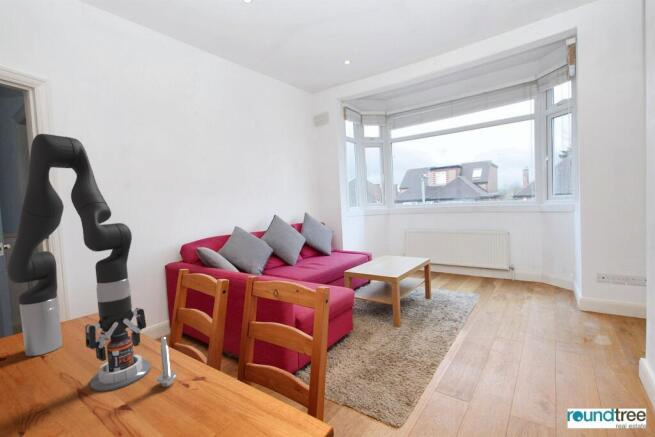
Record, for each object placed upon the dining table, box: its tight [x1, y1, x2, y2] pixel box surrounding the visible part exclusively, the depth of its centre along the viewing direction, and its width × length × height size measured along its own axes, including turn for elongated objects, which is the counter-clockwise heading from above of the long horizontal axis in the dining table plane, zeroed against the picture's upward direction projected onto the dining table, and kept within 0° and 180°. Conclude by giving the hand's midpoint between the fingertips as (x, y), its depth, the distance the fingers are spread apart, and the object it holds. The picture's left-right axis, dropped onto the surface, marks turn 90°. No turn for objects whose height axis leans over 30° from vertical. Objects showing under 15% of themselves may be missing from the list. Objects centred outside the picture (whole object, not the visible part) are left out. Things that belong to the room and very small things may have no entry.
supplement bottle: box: [106, 329, 134, 372], centre depth 85 cm, size 6×6×11 cm
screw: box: [155, 336, 178, 388], centre depth 79 cm, size 13×5×5 cm
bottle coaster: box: [89, 353, 152, 392], centre depth 85 cm, size 14×14×3 cm
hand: (119, 352), depth 84 cm, fingers open, 8 cm apart
